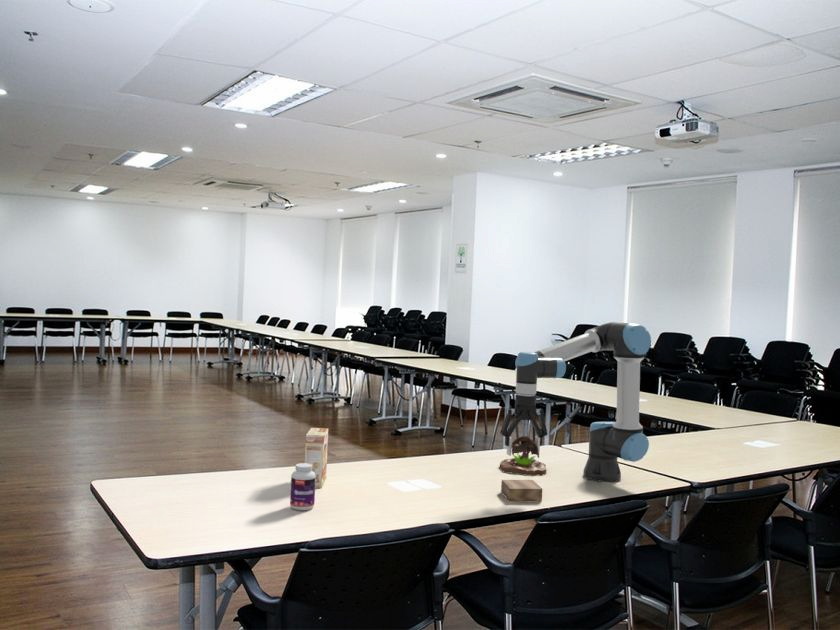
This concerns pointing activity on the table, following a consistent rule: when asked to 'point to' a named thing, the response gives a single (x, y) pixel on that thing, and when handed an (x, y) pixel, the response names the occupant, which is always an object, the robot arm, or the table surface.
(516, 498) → the walnut block
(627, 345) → the robot arm
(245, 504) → the table surface
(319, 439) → the coffeecake box
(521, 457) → the plant
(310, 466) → the pill bottle
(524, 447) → the dark brown figurine
